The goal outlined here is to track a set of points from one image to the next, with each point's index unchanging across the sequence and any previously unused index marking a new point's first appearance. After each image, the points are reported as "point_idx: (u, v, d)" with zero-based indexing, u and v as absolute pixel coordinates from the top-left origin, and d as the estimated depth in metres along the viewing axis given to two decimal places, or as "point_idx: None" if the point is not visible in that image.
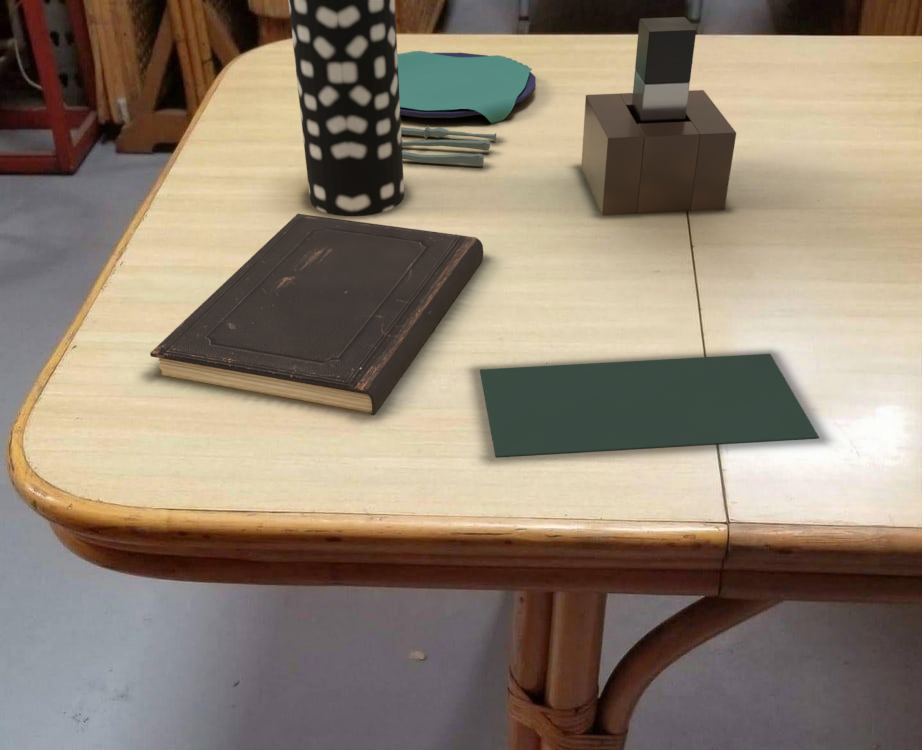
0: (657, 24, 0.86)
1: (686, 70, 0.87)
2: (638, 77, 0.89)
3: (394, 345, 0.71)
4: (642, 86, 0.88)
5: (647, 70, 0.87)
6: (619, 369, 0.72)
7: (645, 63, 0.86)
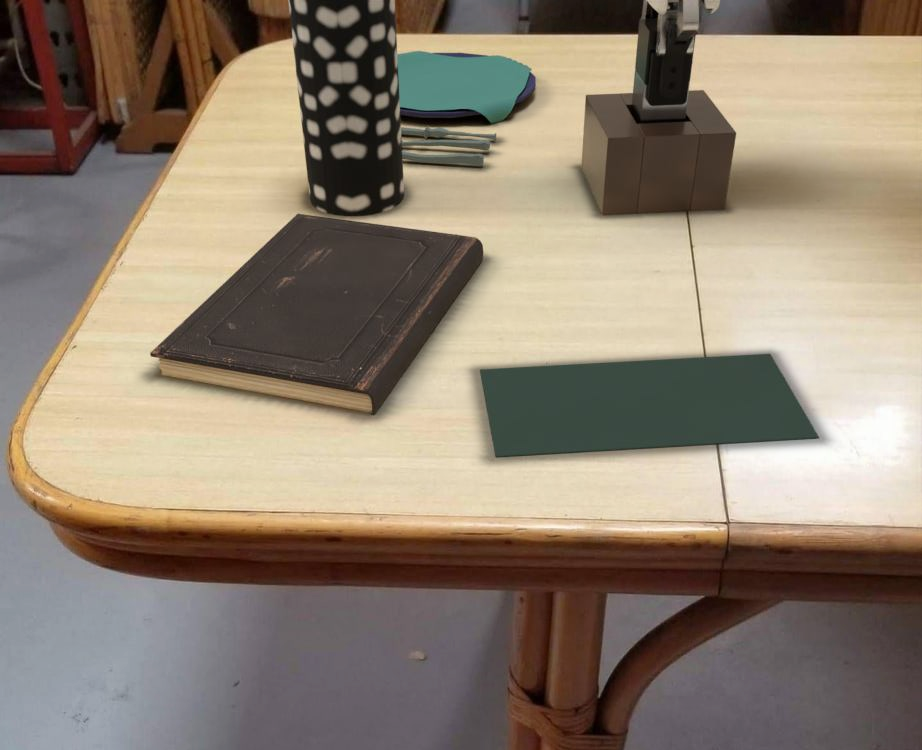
0: (657, 24, 0.86)
1: None
2: (638, 77, 0.89)
3: (394, 345, 0.71)
4: (642, 86, 0.88)
5: (647, 70, 0.87)
6: (619, 369, 0.72)
7: (645, 63, 0.86)
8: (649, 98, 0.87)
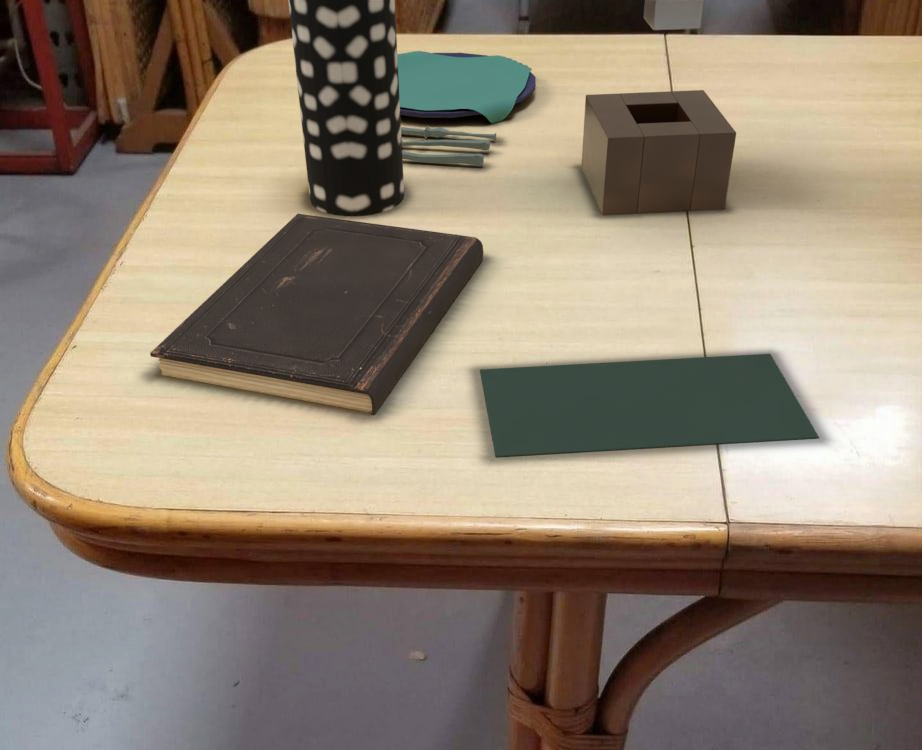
0: None
1: None
2: None
3: (394, 345, 0.71)
4: None
5: None
6: (619, 369, 0.72)
7: None
8: None
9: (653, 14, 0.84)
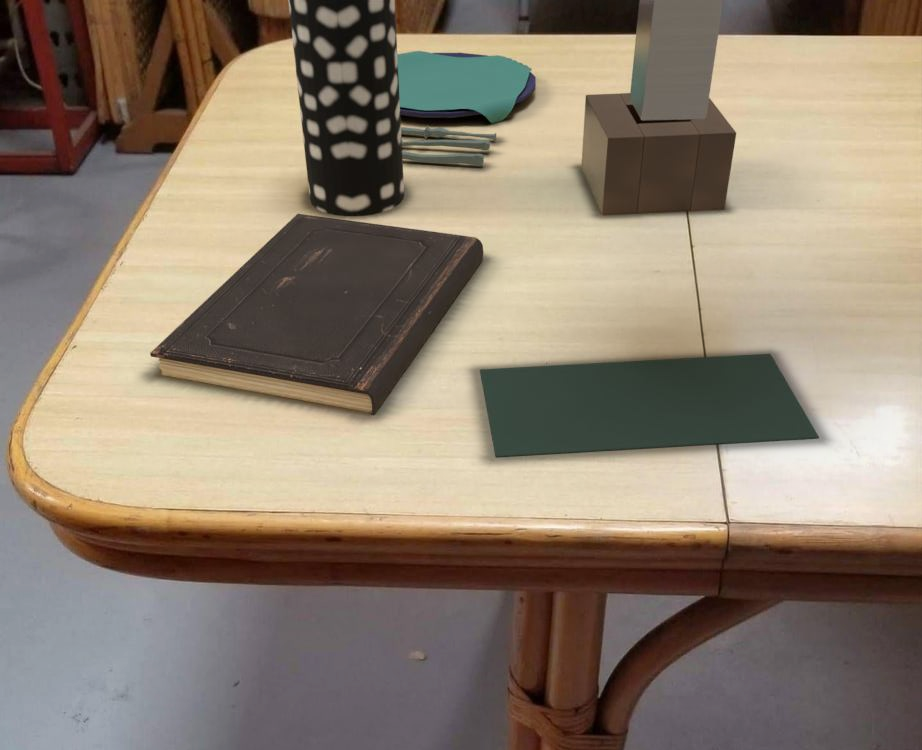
0: None
1: None
2: None
3: (394, 345, 0.71)
4: None
5: None
6: (619, 369, 0.72)
7: None
8: None
9: (642, 99, 0.61)
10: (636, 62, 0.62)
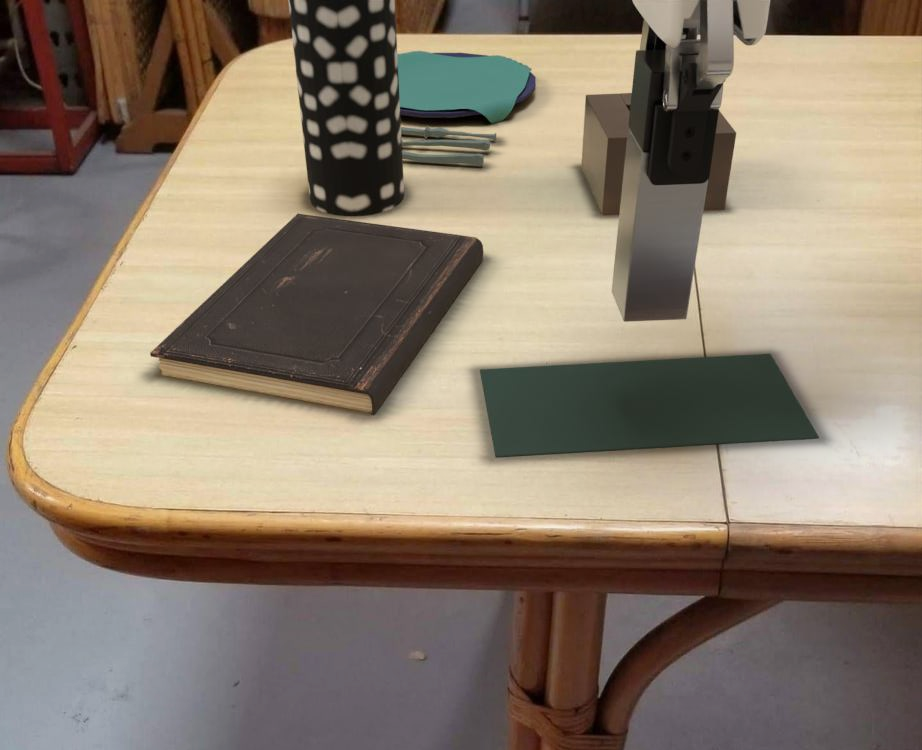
0: (663, 60, 0.55)
1: None
2: (633, 139, 0.58)
3: (394, 345, 0.71)
4: (639, 154, 0.57)
5: (647, 132, 0.56)
6: (619, 369, 0.72)
7: (644, 120, 0.55)
8: (651, 174, 0.56)
9: (623, 302, 0.62)
10: (617, 262, 0.63)
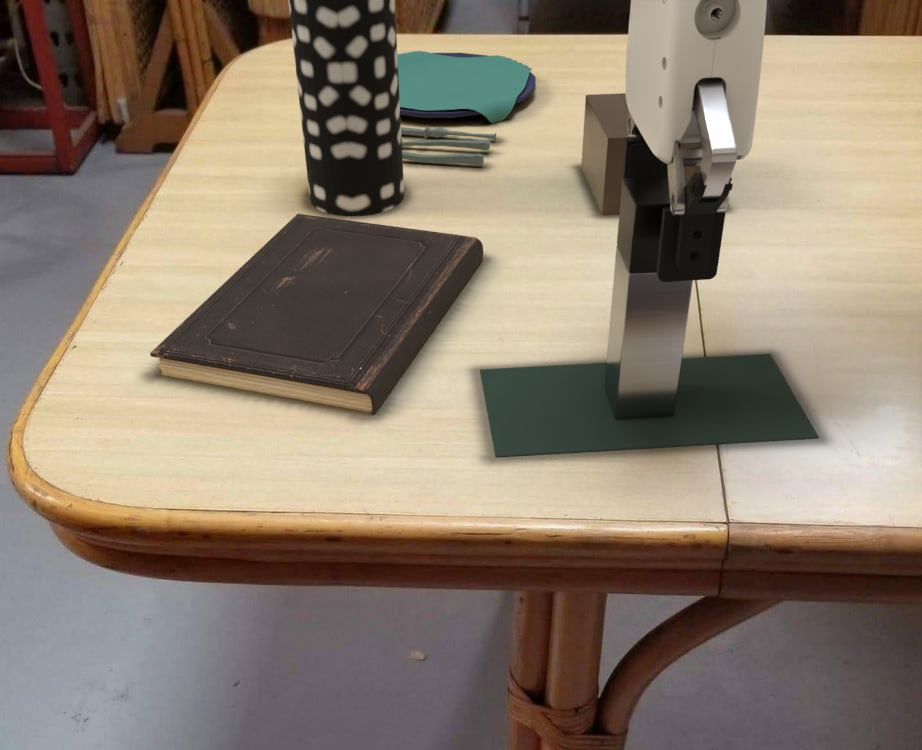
0: (647, 190, 0.60)
1: None
2: (621, 258, 0.63)
3: (394, 345, 0.71)
4: (626, 274, 0.61)
5: (634, 256, 0.60)
6: None
7: (630, 245, 0.60)
8: (660, 272, 0.57)
9: (615, 401, 0.67)
10: (609, 363, 0.68)
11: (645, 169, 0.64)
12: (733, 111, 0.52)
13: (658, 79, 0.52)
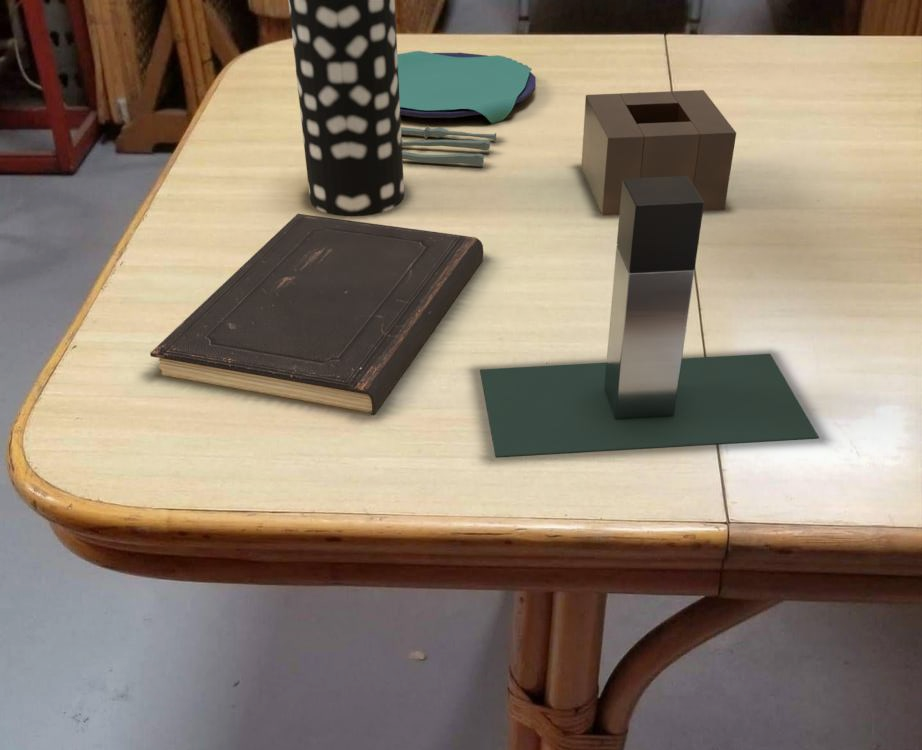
0: (647, 190, 0.60)
1: (689, 254, 0.60)
2: (621, 258, 0.63)
3: (394, 345, 0.71)
4: (626, 274, 0.61)
5: (634, 256, 0.60)
6: None
7: (630, 245, 0.60)
8: None
9: (615, 401, 0.67)
10: (609, 363, 0.68)
11: None
12: None
13: None
